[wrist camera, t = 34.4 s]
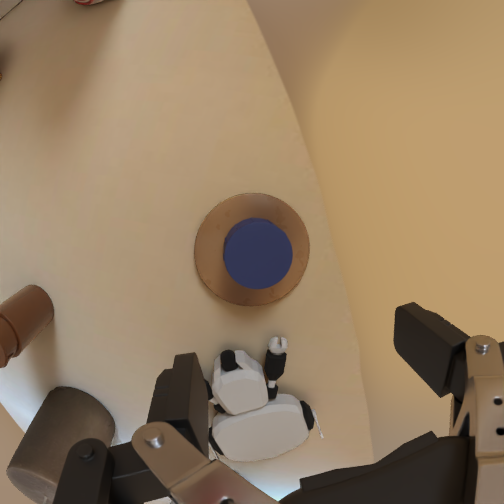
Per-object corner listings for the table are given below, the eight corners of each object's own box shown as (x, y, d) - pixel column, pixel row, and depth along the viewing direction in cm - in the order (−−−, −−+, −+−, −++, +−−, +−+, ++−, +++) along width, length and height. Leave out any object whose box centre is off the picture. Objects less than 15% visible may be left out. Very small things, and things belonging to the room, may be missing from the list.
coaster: (196, 304, 27) (196, 307, 27) (194, 192, 25) (193, 192, 24) (303, 302, 29) (305, 304, 28) (310, 194, 26) (312, 195, 26)
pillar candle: (50, 372, 28) (-6, 460, 13) (124, 409, 30) (94, 513, 15) (45, 418, 29) (6, 497, 15) (109, 449, 31) (86, 536, 17)
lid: (210, 255, 26) (210, 264, 23) (249, 204, 25) (252, 208, 23) (260, 289, 27) (264, 301, 24) (297, 242, 26) (306, 249, 24)
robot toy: (168, 355, 29) (221, 448, 32) (161, 378, 25) (222, 474, 28) (283, 318, 30) (316, 420, 32) (293, 338, 25) (326, 444, 28)
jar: (26, 323, 26) (-18, 367, 17) (16, 284, 25) (-36, 320, 16) (58, 326, 26) (15, 375, 17) (48, 284, 25) (-3, 324, 16)
